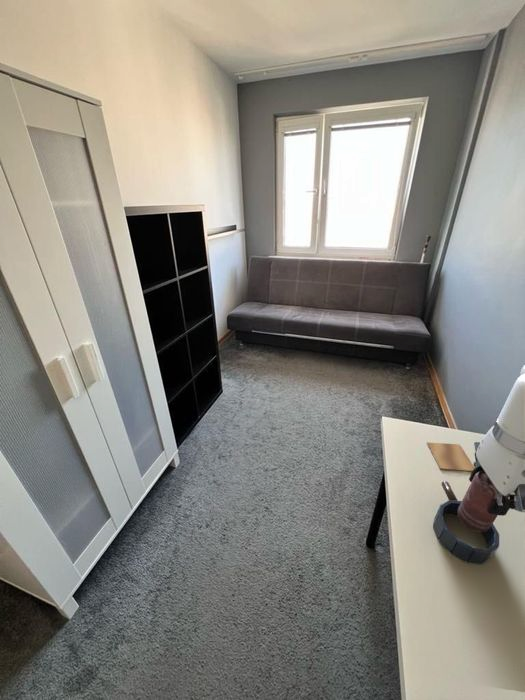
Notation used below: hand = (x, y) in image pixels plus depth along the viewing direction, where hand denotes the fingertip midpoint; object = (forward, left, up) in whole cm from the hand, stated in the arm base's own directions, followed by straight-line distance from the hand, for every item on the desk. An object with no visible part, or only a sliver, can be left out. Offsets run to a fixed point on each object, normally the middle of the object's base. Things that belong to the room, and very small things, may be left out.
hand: (486, 495), depth 59 cm
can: (0, 0, -9) cm, 9 cm away
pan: (0, -3, -16) cm, 16 cm away
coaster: (-8, -24, -16) cm, 30 cm away
